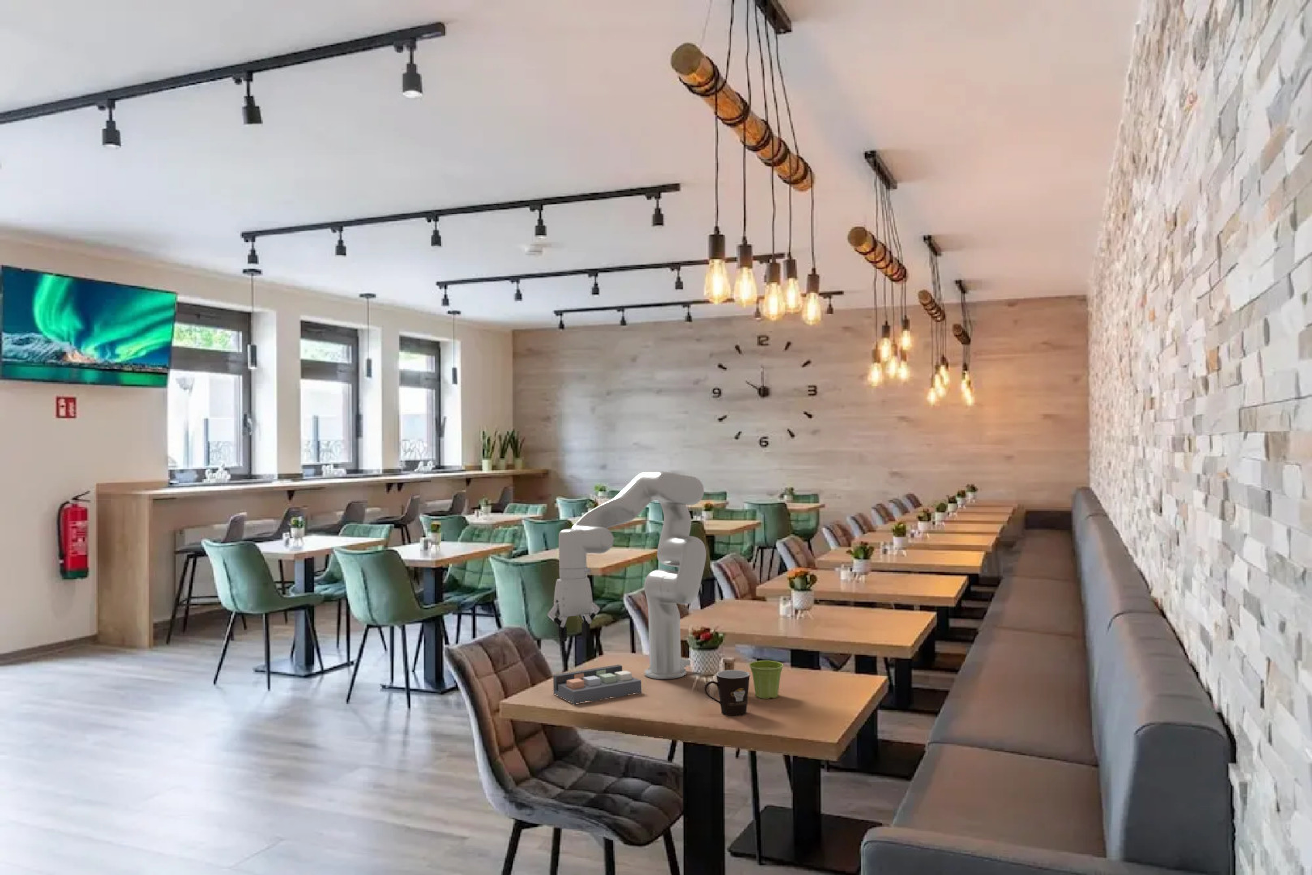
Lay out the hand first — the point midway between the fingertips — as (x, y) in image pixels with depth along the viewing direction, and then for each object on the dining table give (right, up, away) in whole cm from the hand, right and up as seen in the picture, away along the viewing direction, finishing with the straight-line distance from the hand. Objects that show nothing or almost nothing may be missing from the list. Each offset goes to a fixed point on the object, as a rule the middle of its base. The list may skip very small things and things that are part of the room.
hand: (574, 638), depth 261 cm
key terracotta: (0, -14, 0) cm, 14 cm away
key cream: (+13, -14, +8) cm, 20 cm away
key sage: (+9, -14, +5) cm, 17 cm away
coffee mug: (+41, -16, -17) cm, 47 cm away
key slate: (+5, -14, +2) cm, 15 cm away
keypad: (+6, -17, +5) cm, 18 cm away
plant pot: (+53, -16, -1) cm, 55 cm away
